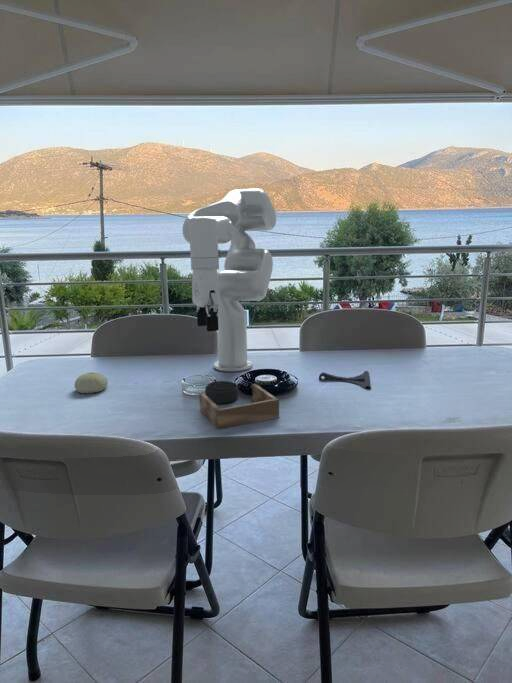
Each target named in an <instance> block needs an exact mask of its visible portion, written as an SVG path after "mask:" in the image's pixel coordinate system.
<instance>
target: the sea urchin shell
mask: <svg viewBox="0 0 512 683" xmlns="http://www.w3.org/2000/svg"><path fill="white" fill-rule="evenodd" d="M108 383H109V381H108V378H107V377H106V376H105V375H104V374H103V373H100V372H95V371H94V372H92V371H91V372H86V373H84V374H81V375H79V376H78V377H77V378H76V379H75V382H74V384H73V385H74V388H75V390H76V391H77V392H78V393H80V394H83V393H86V394H95V393H94V392H96V393H100V392H102V391H103V390H105V389H106V388H107V386H108ZM99 391H100V392H99Z"/></svg>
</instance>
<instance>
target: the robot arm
mask: <svg viewBox="0 0 512 683" xmlns="http://www.w3.org/2000/svg"><path fill="white" fill-rule="evenodd" d="M276 223H277V213H276V209H275V207H274V205H273V202H272V201H271V198H270V197H269V196H268V194H267V193H266V191H264V190H263V189H261V188H243V189H238V188H237V189H233V190H230V191H229V192H227V194H225V195H224V196H223V197H222V198H221V200H219V201H218V202H215V203H214V202H213V203H212V204H209V205H207V206H202V207H200V208H198V209H195V210H193V211H192V212H191V213H189V215H188V216H187V217H186V218H185V219H184V222H183V225H182V235H183V238H184V240H185V241H186V242H187V243H188V244H189V252H190V254H189V255H190V270H191V271H192V279H191V287H192V288H191V290H192V292H191V300H192V303H193V304H194V305H196V321H197V322H196V323H197V327H206V331H207V332H217V353H218V355H217V357H218V360H217V361H215V362H214V363H213V368H214V369H216V370H217V371H220V372H228V373H229V372H230V373H231V372H242V371H247V370H249V369H251V368H252V367H253V362H252V361H251V360H250V359H248V342H247V341H248V332H247V330H248V328H247V313H246V310H245V308H244V306H242V304H241V303H240V302H241V301H245V302H246V301H247V302H251V301H252V302H253V301H254V302H255V301H258V302H259V301H262V300H264V299H265V298H266V295H267V293H268V290H269V285H270V281H271V277H272V274H273V273H272V272H273V268H274V267H273V265H274V260H273V256H272V254H271V252H270V251H269V250H268V249H266V248H256V243H255V241H254V239H253V238H252V237H251V236H250V235H249V234H248V233H247V232H260V231H262V232H263V231H264V232H265V231H271V230H273V229H274V228H275V226H276ZM229 242H230V245H229V247H228V248H229V249H228V252H227V254H226V257H225V259H224V260H225V261H224V264H223V265H224V270H221V271H218V270H219V269H220V258H219V245H222V244H227V243H229Z"/></svg>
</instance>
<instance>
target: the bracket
mask: <svg viewBox="0 0 512 683" xmlns="http://www.w3.org/2000/svg"><path fill="white" fill-rule="evenodd" d="M318 380H319V381H332V382H333V381H336V382H346V383H350V384H353V385H357V386H359V387H360V388H362V389H364V390H367V388H368V389H369V390H371V389H372V387H371V379H370V372H369V371H368V370H365V371H363V373H361V374H359V375H355V376H350V377H347V376H344V377H343V376H337V375H333V374H330V373H326V372H321V373H320V374H319V376H318Z"/></svg>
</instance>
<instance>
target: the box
mask: <svg viewBox="0 0 512 683" xmlns="http://www.w3.org/2000/svg"><path fill="white" fill-rule="evenodd" d="M251 385H252V386H251V387H252V388H251V390H252V391H251V393H252V402H249V403H244V404H239V405H233V406H228V407H227V406H226V407H222V408H220V407H219V406H218V404H215V403H214V402H213V401H212V400H211V399H209V398H208V397H207V396H206V395H205V392H198V394H199V410H200V411H201V413H202V414H203V415H204V416H206V418H207V419H208V420H209V421H210V422H211V423H212V424H213V425H214V426H215V428H217V429H218V430H221V429H227V428H230V427H236V426H241V425H246V424H251V423H252V424H253V423H256V422H263V421H266V420H273V419H277V418H280V401H279V398H277V397H276V396H274V395H273V394H271V393H270V392H268V391H267V390H266V389H264V388H262V387H261V386H260V385H258V384H256V383H253V384H251Z"/></svg>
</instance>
